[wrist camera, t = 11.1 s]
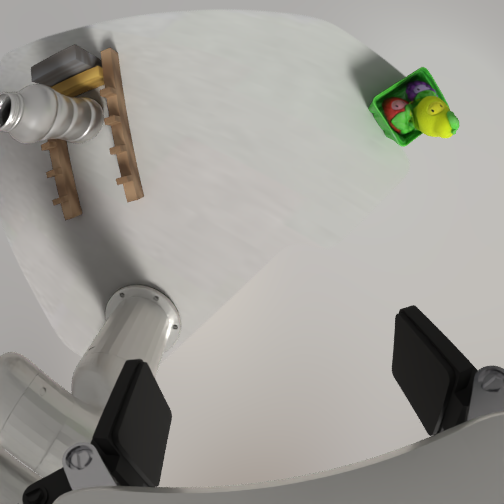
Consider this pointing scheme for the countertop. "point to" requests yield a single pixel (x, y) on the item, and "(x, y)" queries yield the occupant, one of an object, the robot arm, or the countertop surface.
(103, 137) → the countertop surface
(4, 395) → the robot arm
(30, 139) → the grey bulging hollow cylinder
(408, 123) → the fruit basket
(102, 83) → the wooden peg rack
